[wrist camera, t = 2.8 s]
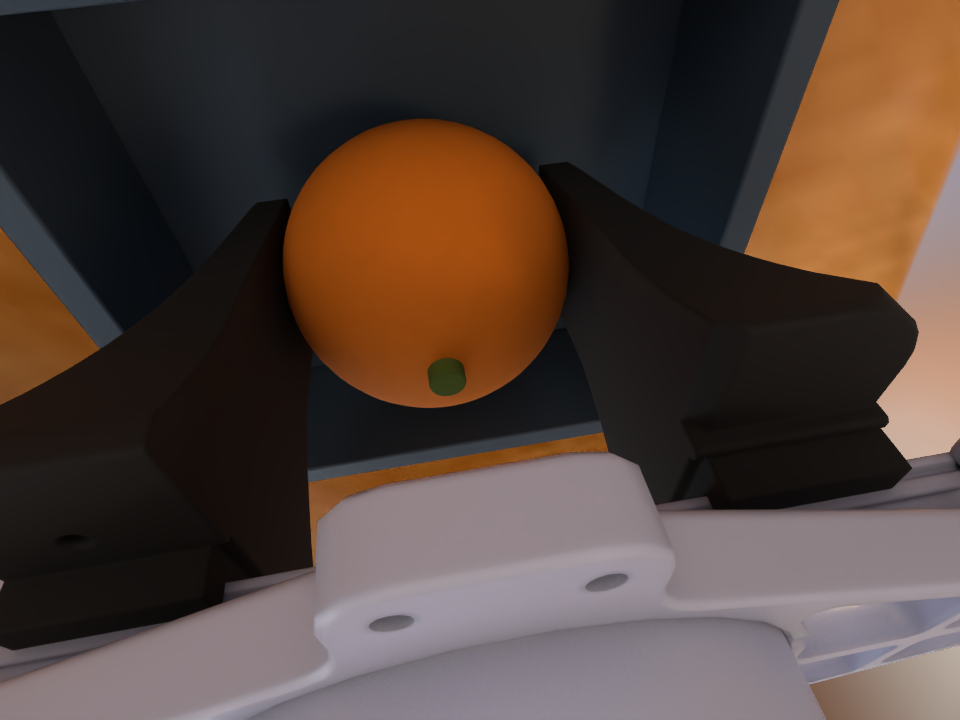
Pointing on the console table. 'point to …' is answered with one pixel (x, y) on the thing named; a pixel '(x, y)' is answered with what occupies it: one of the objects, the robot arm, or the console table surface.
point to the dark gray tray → (362, 106)
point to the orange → (425, 263)
